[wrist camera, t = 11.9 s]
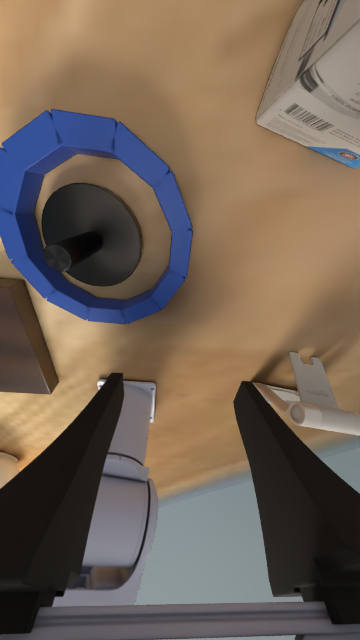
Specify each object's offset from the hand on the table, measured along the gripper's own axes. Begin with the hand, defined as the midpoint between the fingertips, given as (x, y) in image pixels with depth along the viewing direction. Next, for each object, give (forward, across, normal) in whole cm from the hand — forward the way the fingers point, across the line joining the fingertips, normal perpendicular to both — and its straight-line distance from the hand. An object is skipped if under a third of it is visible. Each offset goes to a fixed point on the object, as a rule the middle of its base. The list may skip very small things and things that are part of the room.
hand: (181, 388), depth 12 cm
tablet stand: (+11, -16, +9) cm, 21 cm away
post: (+10, +8, -6) cm, 14 cm away
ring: (+10, +7, -6) cm, 14 cm away
